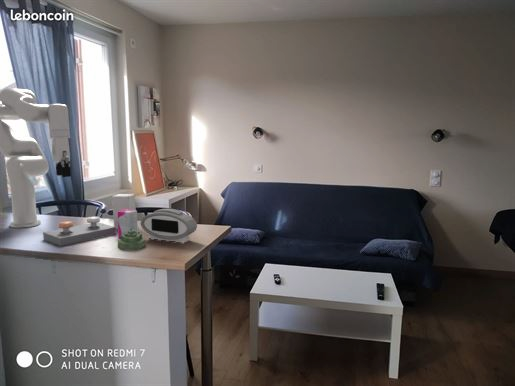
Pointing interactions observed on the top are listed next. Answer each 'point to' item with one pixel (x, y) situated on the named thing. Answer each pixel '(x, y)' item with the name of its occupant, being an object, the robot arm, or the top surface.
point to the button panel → (78, 234)
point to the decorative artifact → (131, 240)
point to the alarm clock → (169, 225)
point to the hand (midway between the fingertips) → (63, 176)
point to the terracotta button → (66, 226)
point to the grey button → (93, 221)
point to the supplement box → (127, 221)
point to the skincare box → (122, 205)
